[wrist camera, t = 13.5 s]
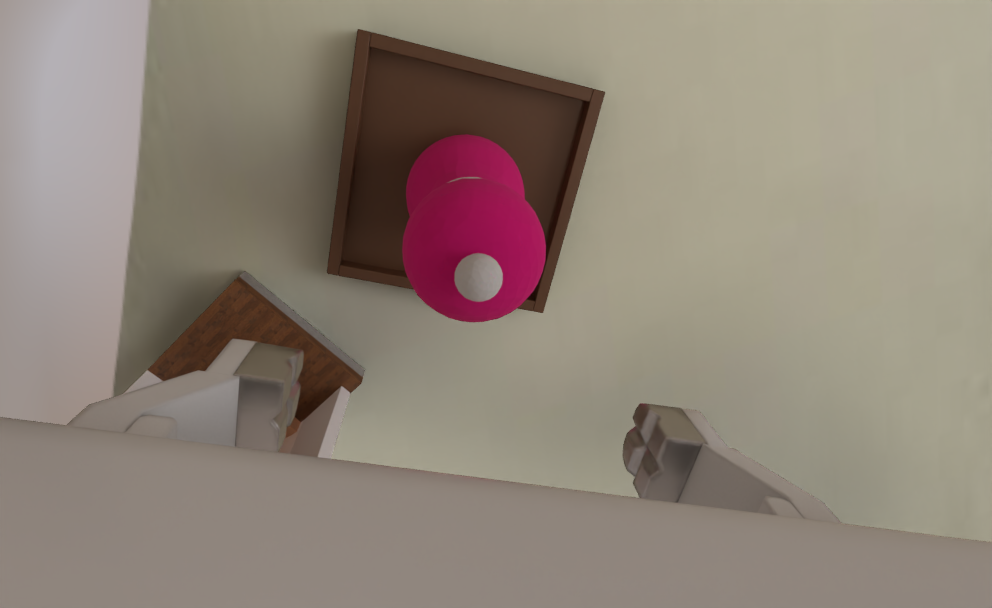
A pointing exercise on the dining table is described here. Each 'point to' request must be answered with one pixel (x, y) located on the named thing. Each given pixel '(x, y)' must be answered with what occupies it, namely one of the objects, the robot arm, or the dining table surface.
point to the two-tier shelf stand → (270, 321)
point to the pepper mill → (470, 231)
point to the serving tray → (443, 113)
